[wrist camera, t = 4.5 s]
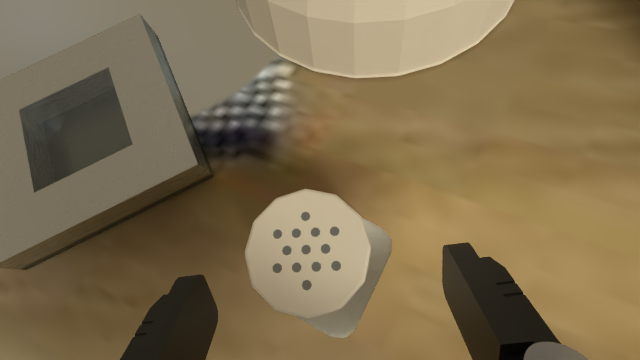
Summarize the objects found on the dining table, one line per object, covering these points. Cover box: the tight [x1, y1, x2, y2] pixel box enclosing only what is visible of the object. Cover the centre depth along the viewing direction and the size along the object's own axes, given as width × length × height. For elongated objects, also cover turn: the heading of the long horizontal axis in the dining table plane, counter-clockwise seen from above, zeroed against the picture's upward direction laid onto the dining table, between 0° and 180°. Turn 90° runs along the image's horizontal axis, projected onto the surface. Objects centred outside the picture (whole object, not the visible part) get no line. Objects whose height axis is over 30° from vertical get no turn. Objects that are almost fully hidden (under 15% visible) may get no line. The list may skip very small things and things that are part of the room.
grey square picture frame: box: [0, 14, 213, 270], centre depth 20 cm, size 12×12×2 cm
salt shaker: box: [245, 189, 392, 338], centre depth 13 cm, size 4×4×10 cm
